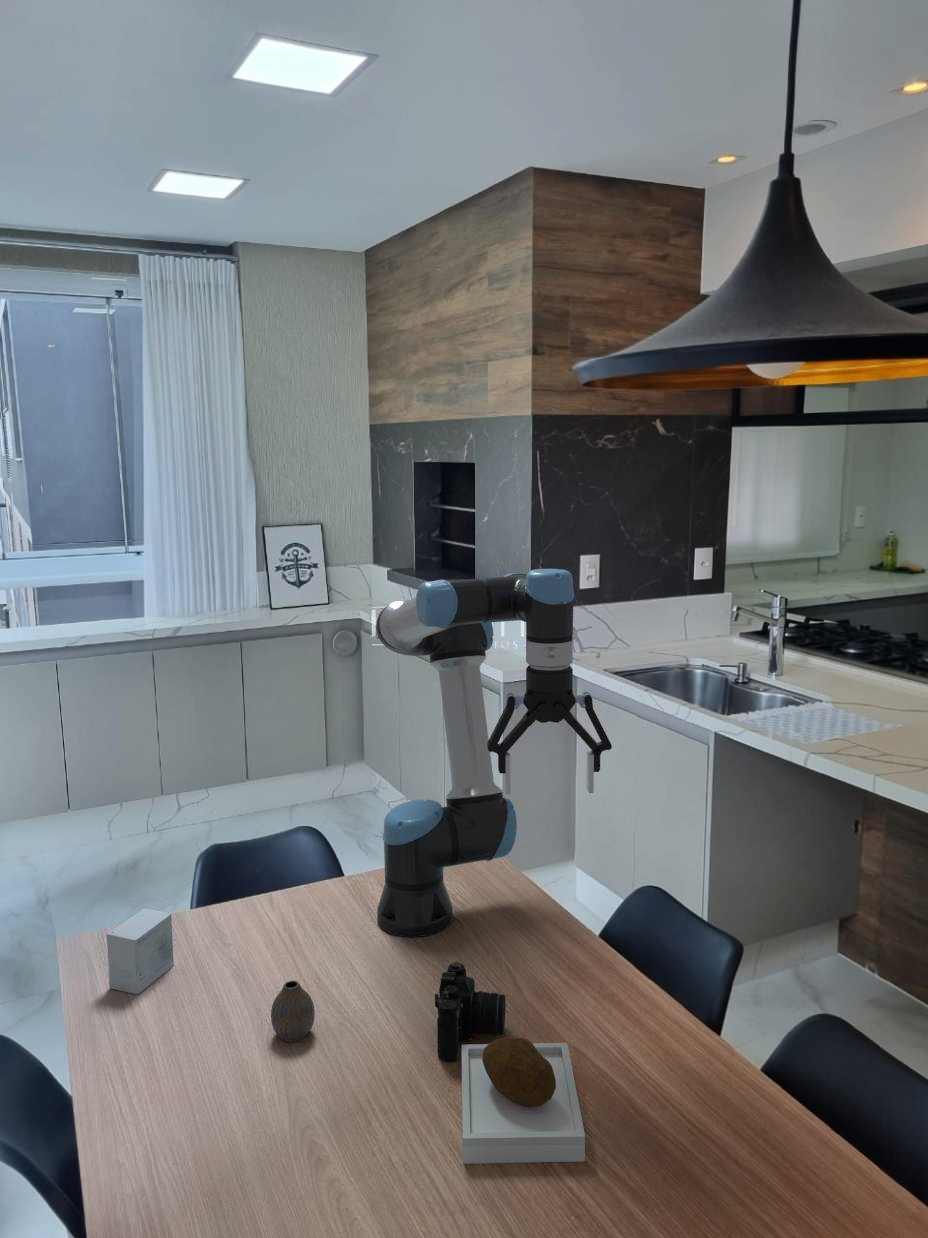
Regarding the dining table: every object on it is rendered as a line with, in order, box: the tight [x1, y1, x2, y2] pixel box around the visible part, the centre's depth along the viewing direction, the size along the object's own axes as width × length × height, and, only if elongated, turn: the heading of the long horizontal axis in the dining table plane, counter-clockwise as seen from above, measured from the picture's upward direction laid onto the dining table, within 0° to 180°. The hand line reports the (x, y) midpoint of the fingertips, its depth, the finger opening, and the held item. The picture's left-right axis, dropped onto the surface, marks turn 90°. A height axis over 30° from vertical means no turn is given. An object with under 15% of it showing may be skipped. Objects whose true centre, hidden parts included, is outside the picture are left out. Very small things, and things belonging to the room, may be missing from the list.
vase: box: [270, 980, 316, 1043], centre depth 152 cm, size 7×7×9 cm
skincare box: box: [106, 908, 175, 995], centre depth 169 cm, size 10×6×10 cm, turn 161°
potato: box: [482, 1036, 556, 1107], centre depth 133 cm, size 8×12×8 cm, turn 51°
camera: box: [434, 961, 507, 1063], centre depth 151 cm, size 14×11×10 cm
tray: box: [461, 1042, 586, 1165], centre depth 134 cm, size 20×16×4 cm
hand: (548, 791), depth 156 cm, fingers open, 13 cm apart
